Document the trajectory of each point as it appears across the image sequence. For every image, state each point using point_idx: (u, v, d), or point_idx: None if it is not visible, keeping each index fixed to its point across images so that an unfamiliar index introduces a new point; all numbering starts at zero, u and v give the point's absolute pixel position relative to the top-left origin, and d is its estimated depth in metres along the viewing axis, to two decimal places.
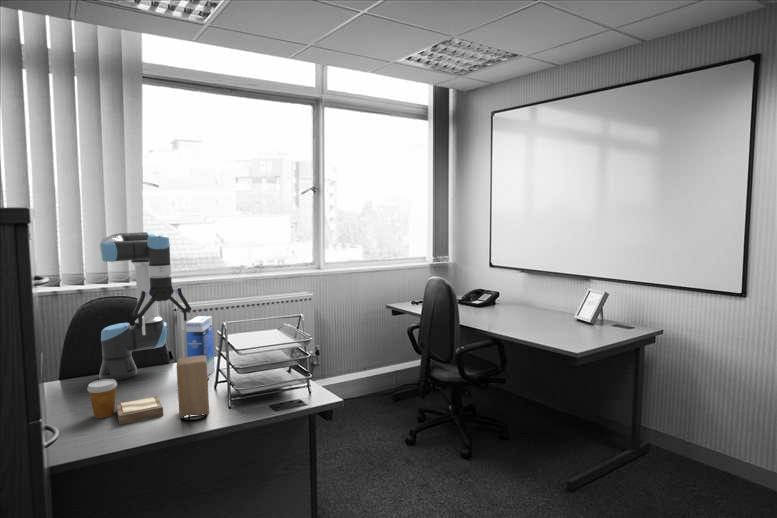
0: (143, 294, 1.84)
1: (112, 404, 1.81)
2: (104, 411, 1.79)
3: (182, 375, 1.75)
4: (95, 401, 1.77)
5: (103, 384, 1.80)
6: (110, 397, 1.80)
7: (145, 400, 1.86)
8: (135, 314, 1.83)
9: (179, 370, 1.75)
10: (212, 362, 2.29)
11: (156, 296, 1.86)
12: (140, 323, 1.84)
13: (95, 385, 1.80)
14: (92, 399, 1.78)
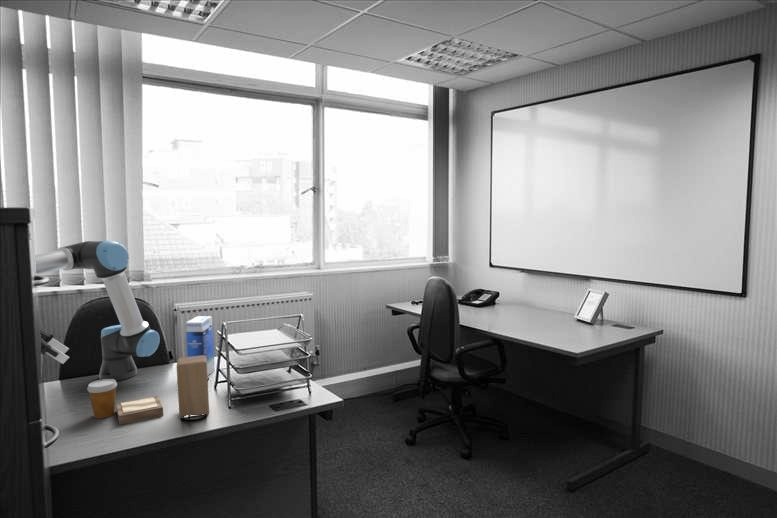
0: None
1: (112, 404, 1.81)
2: (104, 411, 1.79)
3: (182, 375, 1.75)
4: (95, 401, 1.77)
5: (103, 384, 1.80)
6: (110, 397, 1.80)
7: (145, 400, 1.86)
8: None
9: (179, 370, 1.75)
10: (212, 362, 2.29)
11: None
12: None
13: (95, 385, 1.80)
14: (92, 399, 1.78)
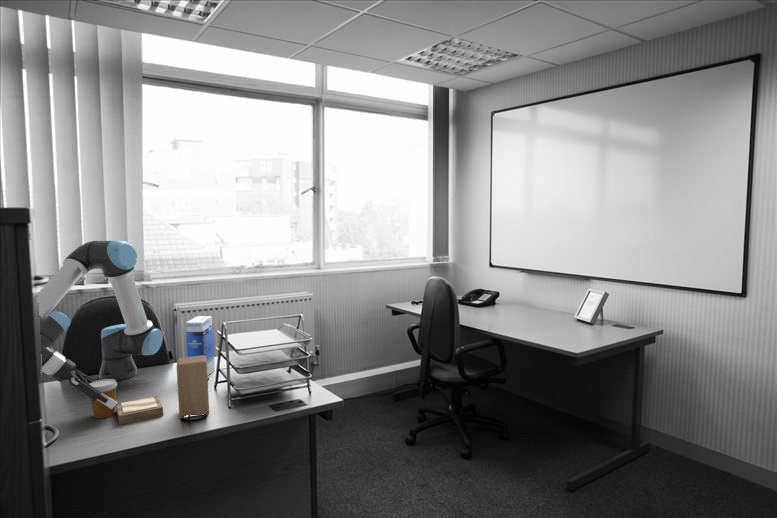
0: None
1: None
2: (104, 411, 1.79)
3: (182, 375, 1.75)
4: (95, 401, 1.77)
5: (103, 384, 1.80)
6: (110, 397, 1.80)
7: (145, 400, 1.86)
8: None
9: (179, 370, 1.75)
10: (212, 362, 2.29)
11: None
12: None
13: (95, 384, 1.79)
14: (92, 399, 1.78)
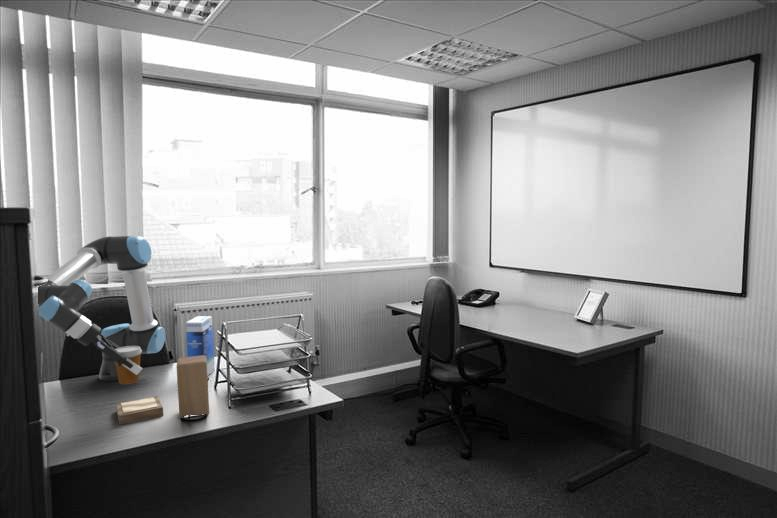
0: None
1: None
2: (129, 377, 1.77)
3: (182, 375, 1.75)
4: (120, 366, 1.76)
5: (128, 350, 1.79)
6: (135, 363, 1.78)
7: (145, 400, 1.86)
8: None
9: (179, 370, 1.75)
10: (212, 362, 2.29)
11: None
12: None
13: (120, 350, 1.78)
14: (117, 364, 1.76)
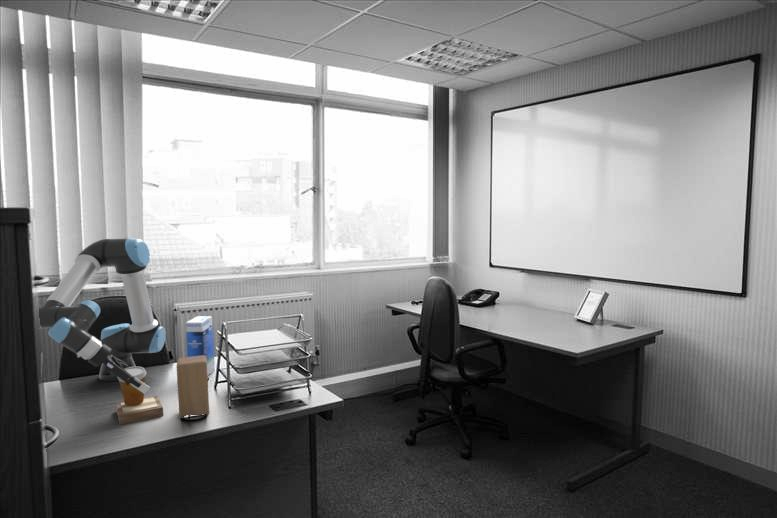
0: None
1: None
2: (134, 399, 1.81)
3: (182, 375, 1.75)
4: (125, 390, 1.79)
5: (133, 373, 1.81)
6: None
7: (145, 400, 1.86)
8: None
9: (179, 370, 1.75)
10: (212, 362, 2.29)
11: None
12: None
13: None
14: (122, 388, 1.79)
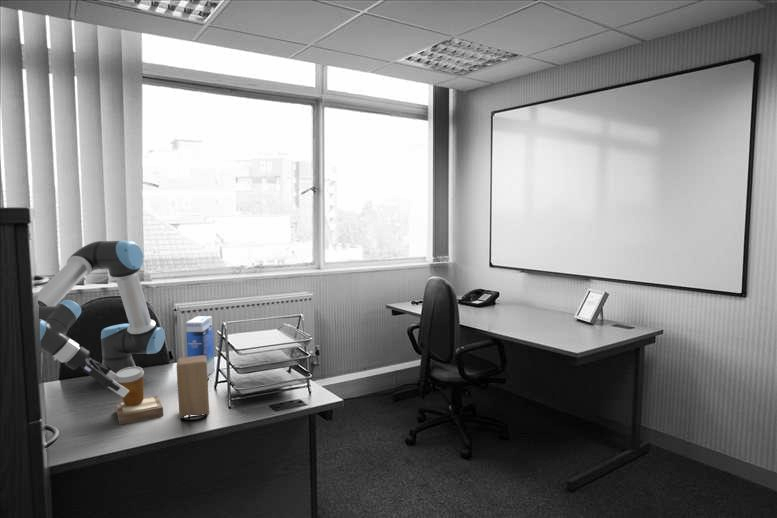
0: None
1: (141, 391, 1.83)
2: (134, 399, 1.81)
3: (182, 375, 1.75)
4: None
5: (130, 373, 1.81)
6: (139, 386, 1.81)
7: (145, 400, 1.86)
8: None
9: (179, 370, 1.75)
10: (212, 362, 2.29)
11: None
12: None
13: (122, 374, 1.80)
14: None
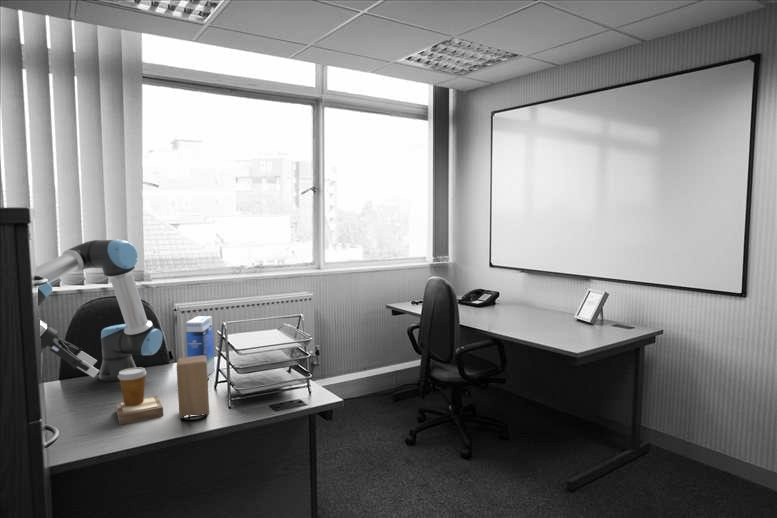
0: None
1: (142, 392, 1.83)
2: (135, 398, 1.81)
3: (182, 375, 1.75)
4: (126, 388, 1.80)
5: (133, 372, 1.83)
6: (140, 385, 1.82)
7: (145, 400, 1.86)
8: None
9: (179, 370, 1.75)
10: (212, 362, 2.29)
11: None
12: None
13: (125, 372, 1.82)
14: (123, 386, 1.80)
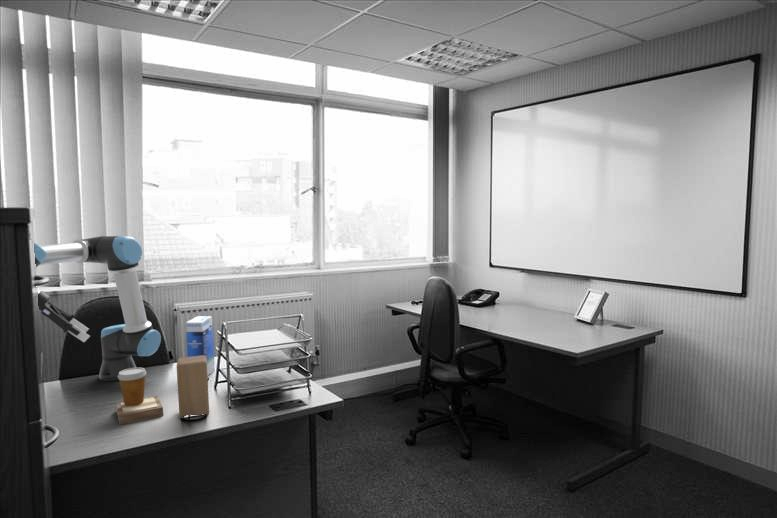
0: None
1: (142, 392, 1.83)
2: (135, 399, 1.81)
3: (182, 375, 1.75)
4: (126, 389, 1.80)
5: (133, 372, 1.82)
6: (140, 385, 1.82)
7: (145, 400, 1.86)
8: None
9: (179, 370, 1.75)
10: (212, 362, 2.29)
11: None
12: None
13: (125, 373, 1.82)
14: (123, 387, 1.80)
